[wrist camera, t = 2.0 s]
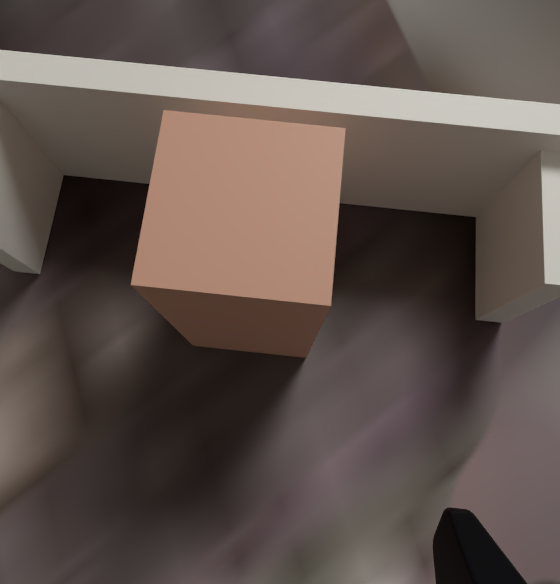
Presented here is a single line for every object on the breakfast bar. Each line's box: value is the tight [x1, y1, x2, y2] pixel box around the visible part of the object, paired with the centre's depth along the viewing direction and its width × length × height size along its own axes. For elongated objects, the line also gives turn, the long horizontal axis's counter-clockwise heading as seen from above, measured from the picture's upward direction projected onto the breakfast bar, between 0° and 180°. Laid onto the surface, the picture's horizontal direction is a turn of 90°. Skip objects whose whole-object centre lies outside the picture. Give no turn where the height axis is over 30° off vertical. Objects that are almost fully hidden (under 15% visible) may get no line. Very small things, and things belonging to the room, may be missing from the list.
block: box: [131, 110, 346, 358], centre depth 18 cm, size 5×5×10 cm
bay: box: [0, 50, 560, 323], centre depth 20 cm, size 6×22×7 cm, turn 84°
